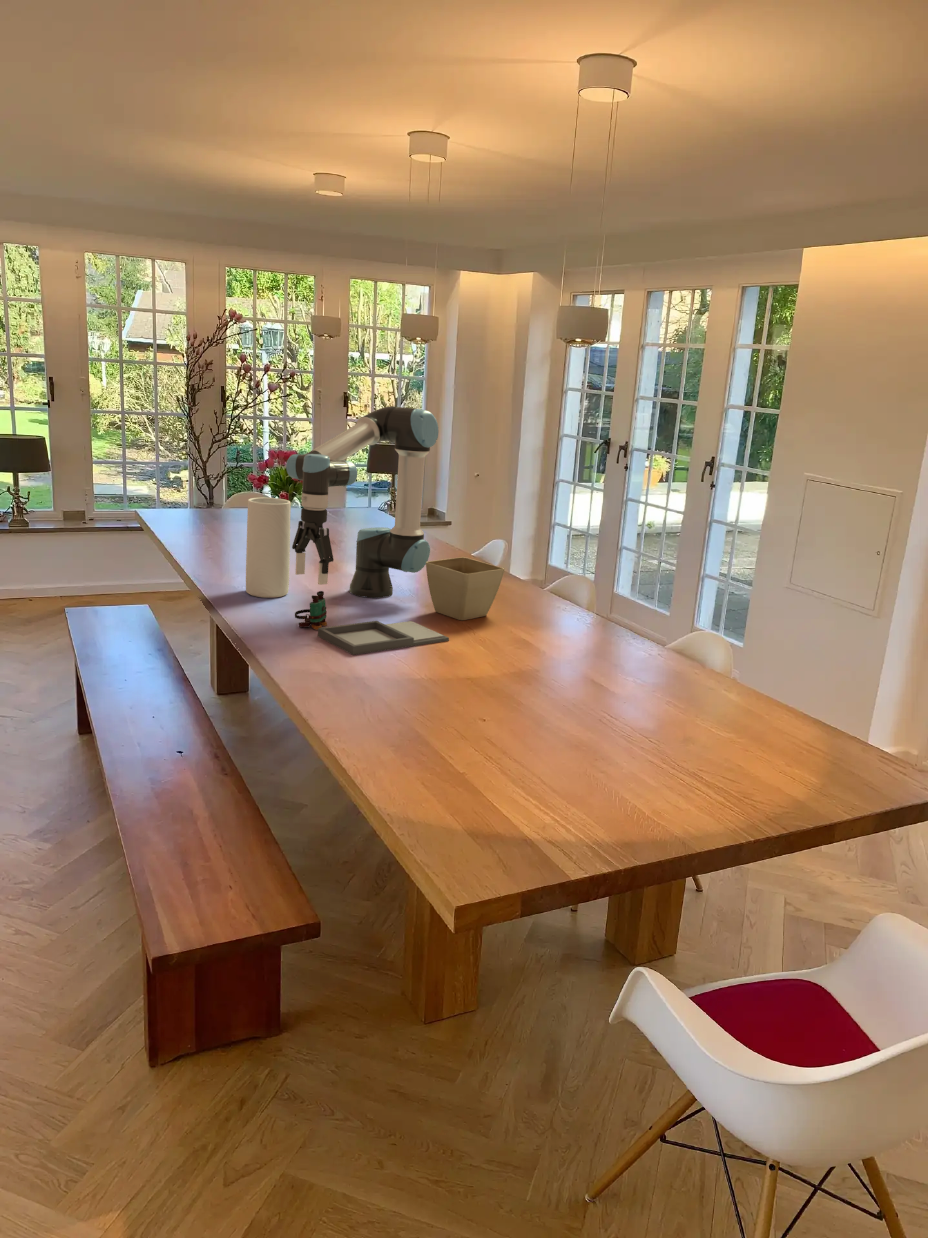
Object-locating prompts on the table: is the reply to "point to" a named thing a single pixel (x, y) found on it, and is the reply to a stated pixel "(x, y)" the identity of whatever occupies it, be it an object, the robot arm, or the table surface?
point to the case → (379, 636)
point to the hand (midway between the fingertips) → (311, 579)
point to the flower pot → (463, 586)
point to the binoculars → (314, 613)
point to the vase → (268, 547)
